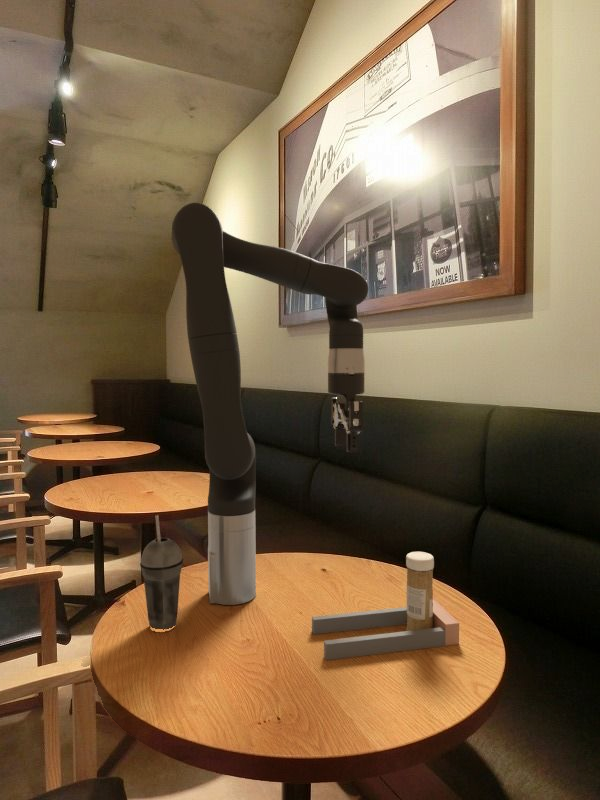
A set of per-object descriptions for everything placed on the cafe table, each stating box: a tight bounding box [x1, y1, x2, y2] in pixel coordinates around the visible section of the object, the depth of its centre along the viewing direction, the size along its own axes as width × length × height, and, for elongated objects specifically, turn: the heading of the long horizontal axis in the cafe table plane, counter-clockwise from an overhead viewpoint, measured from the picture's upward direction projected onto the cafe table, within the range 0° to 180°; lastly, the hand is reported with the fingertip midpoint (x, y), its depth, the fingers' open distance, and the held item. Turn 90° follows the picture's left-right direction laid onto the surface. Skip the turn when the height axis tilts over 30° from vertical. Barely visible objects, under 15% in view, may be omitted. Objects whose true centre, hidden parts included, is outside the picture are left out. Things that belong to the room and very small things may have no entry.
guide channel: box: [311, 598, 460, 661], centre depth 89 cm, size 22×9×4 cm, turn 102°
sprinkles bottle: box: [405, 551, 435, 631], centre depth 91 cm, size 5×5×14 cm
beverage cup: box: [139, 514, 184, 630], centre depth 93 cm, size 7×7×20 cm
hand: (346, 449), depth 111 cm, fingers open, 8 cm apart
